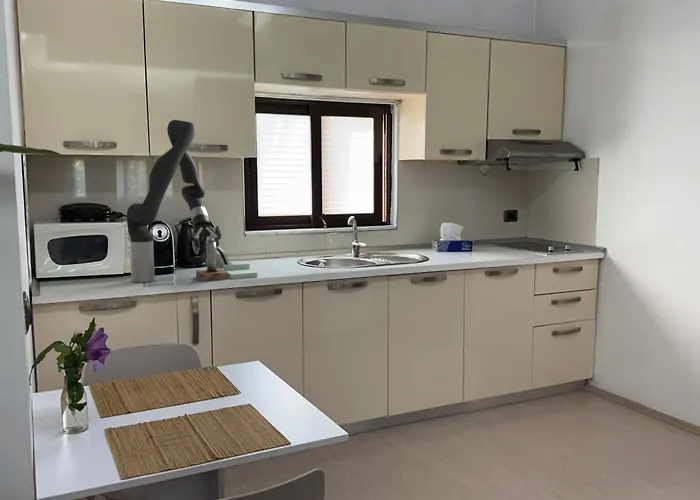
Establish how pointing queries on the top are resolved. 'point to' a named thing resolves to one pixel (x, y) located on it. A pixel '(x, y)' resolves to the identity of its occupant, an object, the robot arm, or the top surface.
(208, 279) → the socket block
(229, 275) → the rack base
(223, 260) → the grey curved piece
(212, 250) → the rod
